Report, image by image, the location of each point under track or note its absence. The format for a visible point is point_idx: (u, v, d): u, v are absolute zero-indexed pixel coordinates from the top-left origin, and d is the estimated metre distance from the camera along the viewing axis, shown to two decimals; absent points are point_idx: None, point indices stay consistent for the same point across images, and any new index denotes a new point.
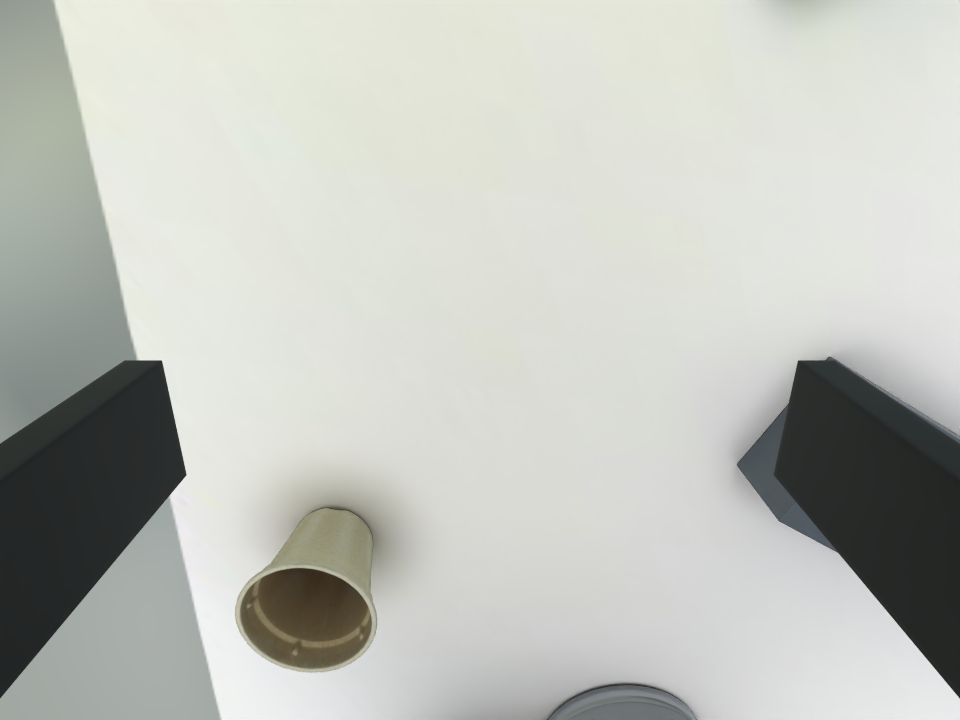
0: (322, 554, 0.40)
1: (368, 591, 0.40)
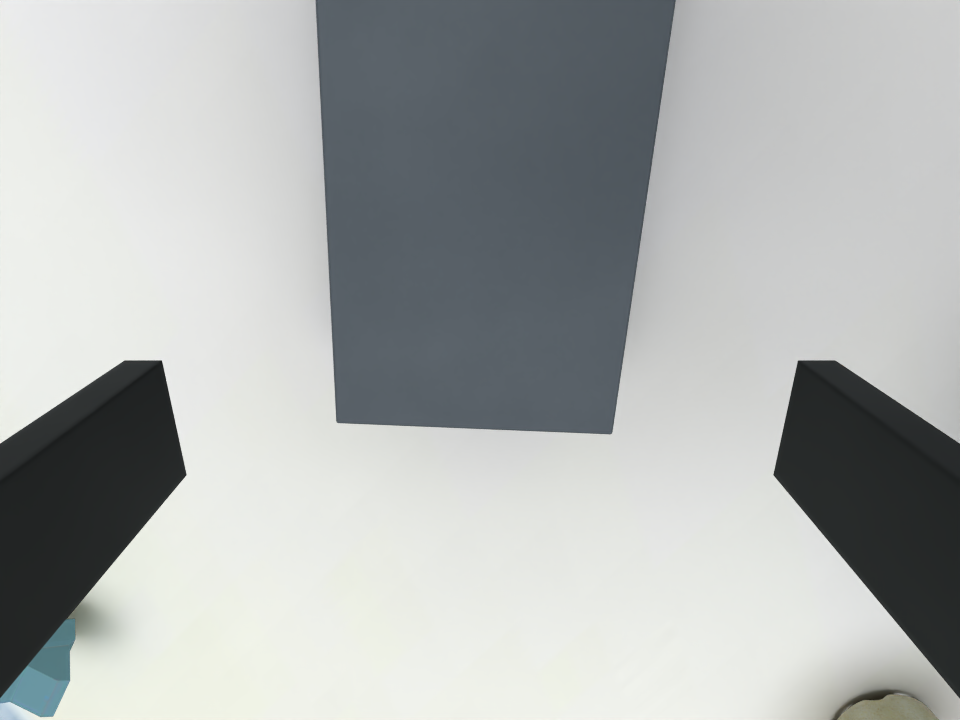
0: None
1: None
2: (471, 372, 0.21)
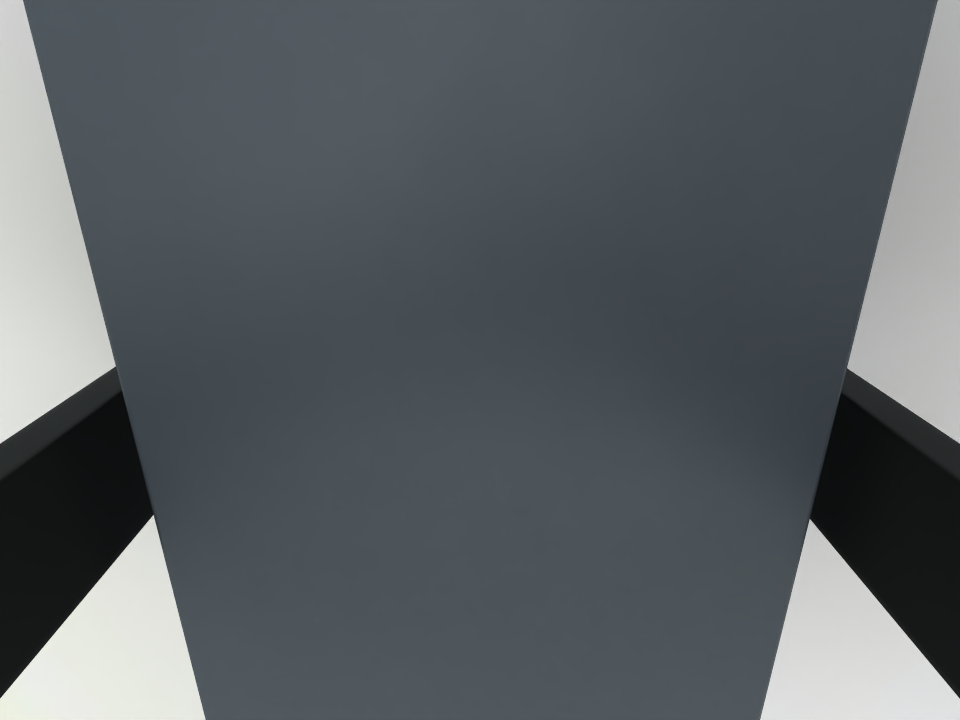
0: None
1: None
2: (473, 706, 0.11)
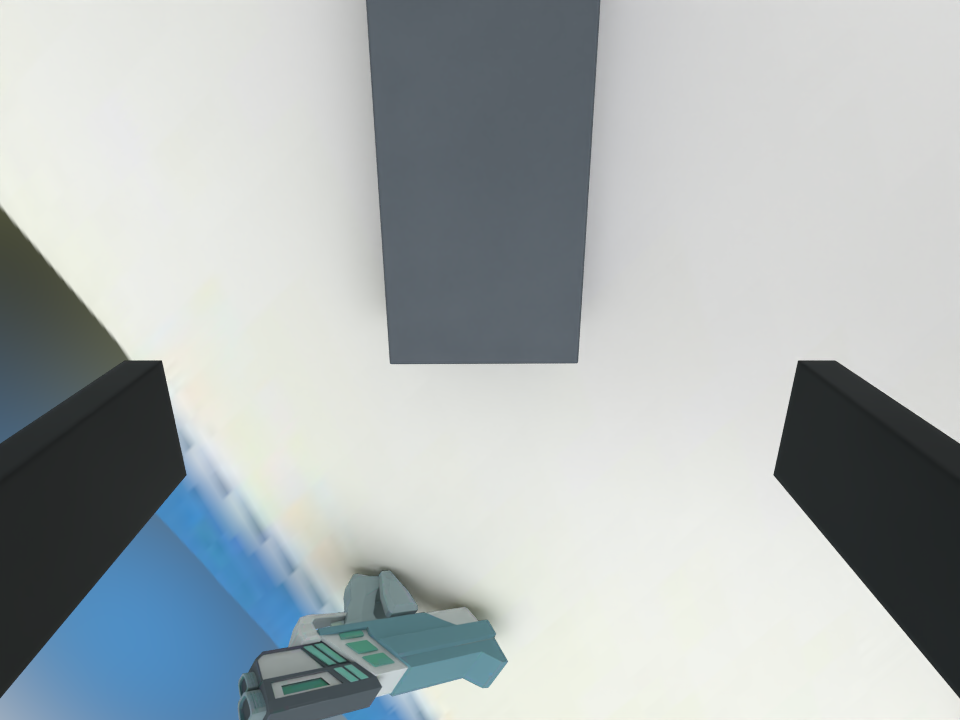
0: None
1: None
2: (480, 323, 0.32)
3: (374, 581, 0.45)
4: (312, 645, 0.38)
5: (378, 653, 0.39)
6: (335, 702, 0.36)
